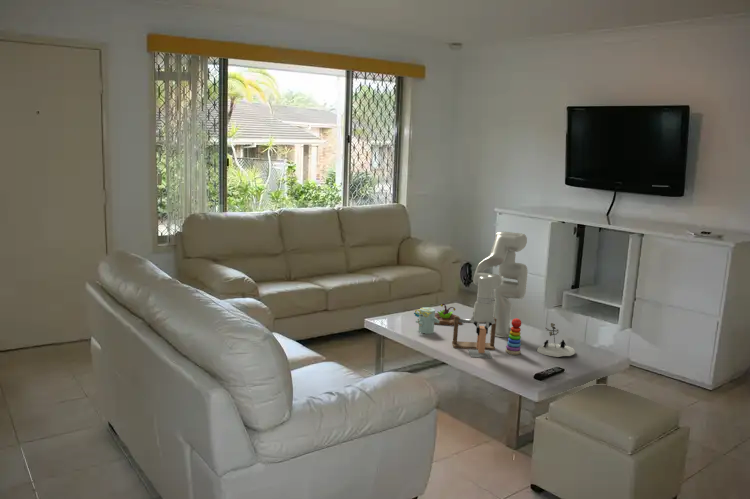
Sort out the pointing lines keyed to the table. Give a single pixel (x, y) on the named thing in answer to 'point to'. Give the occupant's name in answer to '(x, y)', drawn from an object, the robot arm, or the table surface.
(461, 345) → the rack
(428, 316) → the character sculpture
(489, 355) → the mat
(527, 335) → the table surface
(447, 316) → the plant
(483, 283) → the robot arm
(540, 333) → the table surface
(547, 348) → the figurine
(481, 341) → the tall peach block
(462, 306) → the table surface
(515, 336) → the stacking toy
